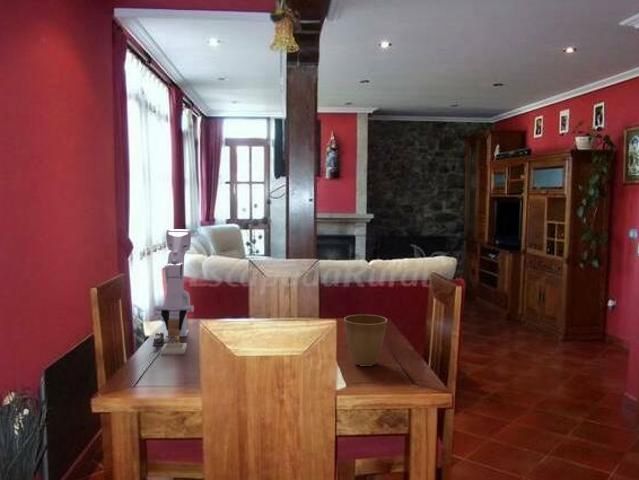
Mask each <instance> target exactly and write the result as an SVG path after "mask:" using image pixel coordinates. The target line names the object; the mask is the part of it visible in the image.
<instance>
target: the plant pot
mask: <svg viewBox="0 0 639 480" xmlns="http://www.w3.org/2000/svg"><path fill="white" fill-rule="evenodd" d="M343 320H344V321H343V322H344V329H345V330H344V331H345V335H346V340H347V344H348V347H349V351H350V352H349V353H350V354H351V358H352V360H353V361H352V362H353V364H354V363H355V364H357V365H366V366H368V365H374V364H375V365H376V364H377V361H378V360H379V355H380V353H381V350H382V347H383V342H384V340H385V335H386V330H387V323H388V319H387V318H386V317H384V316H380V315H376V314H353V315H348V316H345V317H344V318H343ZM355 364H354V365H355ZM357 365H356V366H357ZM375 365H374V366H375Z"/></svg>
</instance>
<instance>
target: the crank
mask: <svg viewBox="0 0 639 480" xmlns="http://www.w3.org/2000/svg"><path fill="white" fill-rule="evenodd" d="M154 335H155V336H154V338H153V342H154V344H159V343H160V342H164V341H165V333H164V332H159V331H158V332H156V333H155V334H154Z"/></svg>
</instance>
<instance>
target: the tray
mask: <svg viewBox="0 0 639 480" xmlns="http://www.w3.org/2000/svg"><path fill="white" fill-rule="evenodd" d="M187 349H188V344H187V342H184V343H183V342H182V343H181V342H180V343H174V342H172V343H170V342H169V343H167V342H166V343H165V344H164V346H161V349H160V355H162V356H163V355H164V356H167V355H169V356H170V355H173V356H174V355H175V356H176V355H178V356H179V355H182V356H183V355H185V354H186V352H187V351H186V350H187Z"/></svg>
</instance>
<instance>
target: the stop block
mask: <svg viewBox="0 0 639 480" xmlns="http://www.w3.org/2000/svg"><path fill="white" fill-rule="evenodd" d="M167 334H168V336H179V335H180V330H179V318H169V320H168V331H167ZM179 337H180V336H179Z"/></svg>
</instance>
